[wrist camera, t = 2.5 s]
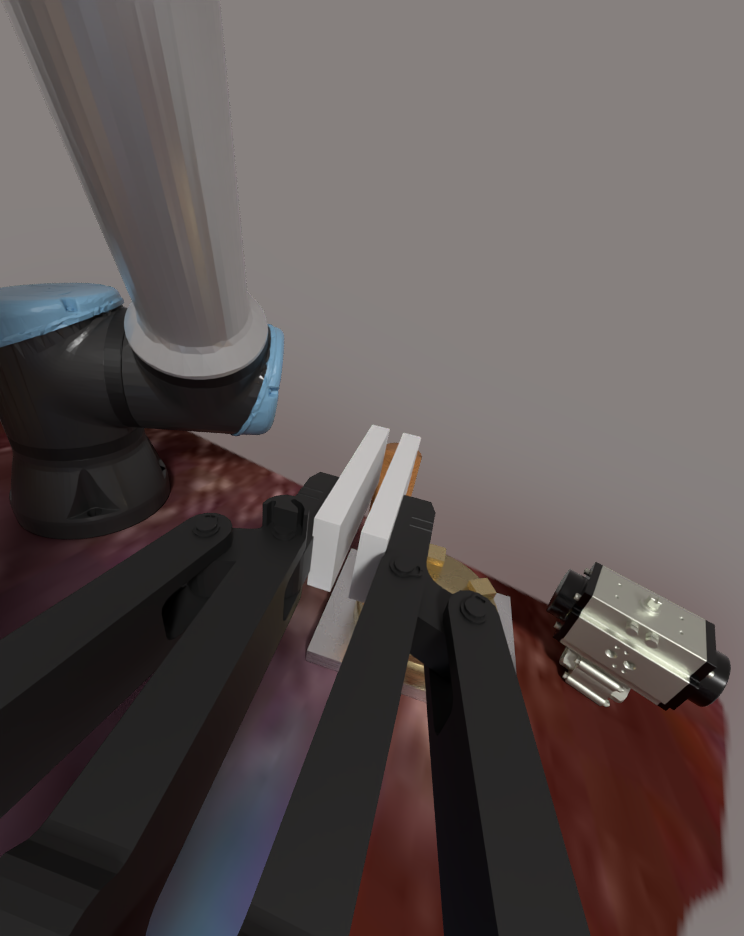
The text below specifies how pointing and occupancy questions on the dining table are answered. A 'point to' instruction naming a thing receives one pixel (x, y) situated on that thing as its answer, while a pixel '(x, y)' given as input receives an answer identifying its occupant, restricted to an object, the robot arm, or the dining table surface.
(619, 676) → the pneumatic valve
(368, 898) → the dining table surface
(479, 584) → the brass lugged disc
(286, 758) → the dining table surface
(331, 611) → the flange plate
